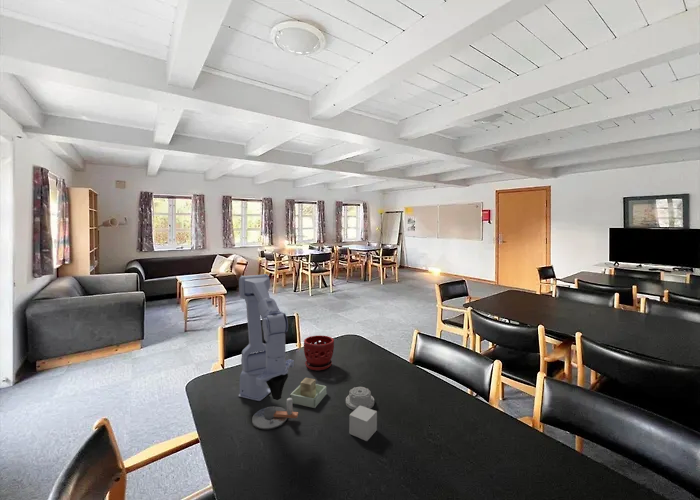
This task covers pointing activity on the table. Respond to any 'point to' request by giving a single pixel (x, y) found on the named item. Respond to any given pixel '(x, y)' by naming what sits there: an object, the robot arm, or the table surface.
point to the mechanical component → (359, 398)
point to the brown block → (308, 387)
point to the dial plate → (267, 420)
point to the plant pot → (318, 352)
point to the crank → (272, 412)
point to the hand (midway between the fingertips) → (276, 398)
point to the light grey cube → (363, 422)
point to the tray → (308, 401)
